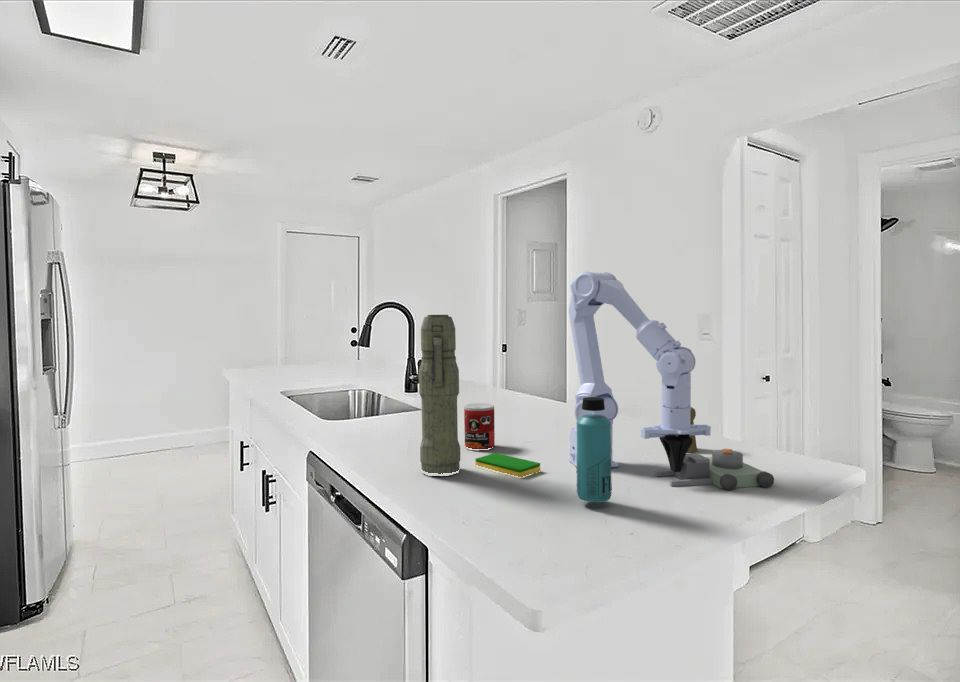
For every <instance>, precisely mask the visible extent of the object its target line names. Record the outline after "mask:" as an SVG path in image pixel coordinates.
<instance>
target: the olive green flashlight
mask: <svg viewBox="0 0 960 682" xmlns="http://www.w3.org/2000/svg"><path fill="white" fill-rule="evenodd" d="M421 323H422V324H421V327H420V350H421V358H420V360H421V362H420V365H419V368H418V388H419V389H418V390H419V391H418V392H419V396H420V398H421V429H422V430H421V432H422V433H421V436H422V437H421V438H422V439H421V442H420V446H419V458H420V464H421V467H420V468H421V469H422V470H423V471H425V472H428V473H438V474H441V473H442V474H443V473H452V472H456V471H458V470H459V468H461V467H460V465H461V464H460V462H461V445H460V442H459V437H458V436H459V433H458V431H459V430H458V396H459V394H460V370H459V367H458V363H457V356H456V350H457V349H456V347H457V346H456V344H457V343H456V326H455V323H454V321H453V317H452V316H449V314H427V315H426V316H424V317H423V319H422V322H421Z"/></svg>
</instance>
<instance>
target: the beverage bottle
mask: <svg viewBox="0 0 960 682" xmlns="http://www.w3.org/2000/svg"><path fill="white" fill-rule="evenodd" d="M582 409H583V410H588V411H601V410H605V406H604V399H603V398H600V397H586V398H583V402H582ZM610 426H611V422H610V421H609V420H608V419H607V418H606V417H605V416H603V415H597V414H587V415H583V416H581V417H580V418H579V419H578V420H576V427H577V454H576V455H577V467H576V476H575V477H576V483H575V484H576V494H577V497H578V498H579V499H580V500H581V501H584V502H590V503H603V502H608V501H610V499H611V497H612V489H613V485H612V468H613V467H612V466H611V452H612V453H613V450H612V451H611V448H612V449H613V446H612V447H611V443H612V444H613V441H612V442H611V432H610Z"/></svg>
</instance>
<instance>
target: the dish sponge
mask: <svg viewBox="0 0 960 682" xmlns="http://www.w3.org/2000/svg"><path fill="white" fill-rule="evenodd" d="M476 465H478V466H481V467H485V468H488V469H492V470H495V471H499V472H502V473H507V474H510V475H514V476H518V477H523V476H526V475H529V474H532V473H536V472H539V471H540V472H541V463H540V462H537V461H536V462H535V461H532V460H528V459H523V458H519V457H515V456H510V455H506V454H503V453H498V452H494V453H491V454H487V455H483V456H480V457H478V458H477V457H476V458H475V466H476ZM540 472H539V473H540ZM536 474H537V473H536Z"/></svg>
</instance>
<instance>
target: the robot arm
mask: <svg viewBox="0 0 960 682" xmlns="http://www.w3.org/2000/svg"><path fill="white" fill-rule="evenodd" d="M570 291H571V297H570V302H569V305H568V317H569V321H570V322H569V323H570V328H571V334H572V340H573V347H574V352H575V358H576V364H577V370H578V377H579V381H580V383H579V384H580V386H579V389H578V390H577V392H576V394H575V396H574V397H575V407H574V410H573V412H574V416H575V417H574V418H575V420H576V421H577V420H578V419H579V418H580V417H581V416H583V415H587V414H597V415H603V416H605V417H606V418H607V419H608V420H609V421H610V422H611V426H610V432H611V442H612V443H611V447H612V448H611V451H612V452H611V466H612V467H611V468H619V467H620V465H619V463H617V462H616V461H614V460H613V427H614V426H613V425H614V419H616V417H617V416H618V415H619V414H618V413H619V405H618V402H617V401H616V399H615V397H614V395H613V392H612V391H613V390H612V388H611V387H610V386H609V385H608V384H607V383H606V382H605V378H604V377H605V376H604V370H603V364H602V359H601V353H600V346H599V342H598V340H599V339H598V336H597V335H598V334H597V330H596V324H595V317H594V316H595V314H596V312H597V311H599V309H600V308H601V306H603V305H604V304H607V305H611V306H612V307H614V308H615V309H616V310H617V311H618V312H619V314H620V315H621V316H622V317H623V318H624V319H626V321H627V322H628V323H630V325H631V326H632V327H633V328H634V329H635V330H636V339H637V341H638V342H639V343H640V344H641V345H642V346H643V347H644V349H645V350H646V351H647V352H648V354H649V355H651V357H652V358H653V359H654V360H655V361H656V364H655V365H656V369H657V371H658V373H659V374H660V376H661V424H660V425H654V426H647V427H641V428H640V438H642V439H645V440H647V439H652V438H659V440H660V442H661V445H662V446H663V449H664V450H665V454H666V456H667V459H668V463H669V468H670V469H669V470H672V471H674V472H681V467H682V464H683V460H684V457H685V455H686V454H688V453H687V451H688V449H689V447H690V446H691V444H692V438H690V436H694V435H695V436H706V437H708V436H709V437H710V436H711V426H710V425H708V424H694V425H690V409H691V407H692V406H691V398H692V397H691V395H692V391H691V389H692V384H691V381H692V380H691V378H692V376H691V375H692V373H691V372H692V371H694V369H695V367H696V357H695V354H694V353H693V352H692V350H691V349H690V348H688V347H685V346H681V345H682V343H681V342H680V340H676V339H675V338H674V337H673V336H672V335H671V334H670V333H669V331H668V330H667V329H666V328H667V325H666V324H665V323H664V322H659V320H653V319H652V320H650V319H649V317H647V315H646V314H645V312H644V311H643V310H642V309H641V308H640V307H639V305H638V304H637V302H636V301H635V300H634V298H632V296H631V295H630V294H629V293H628V291H627V290H626V288H625V287H624V284H623V283H622V282H621V281H620V280H618V279H617V277H616V276H615V275H614V274H613V273H610V272H593V271H587V270H585V271H582V272H580V273H578V274H577V275H576V277H575V278H574V279H573V281H572V282H571V284H570ZM586 397H600V398H603V399H604V406H605V410H601V411H588V410H583V409H582V402H583V398H586ZM569 431H570V432H569V458H568V462H571V463H572V464H573V466H575V468H577V455H576V454H577V426H574V427H571V428H570V430H569Z"/></svg>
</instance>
